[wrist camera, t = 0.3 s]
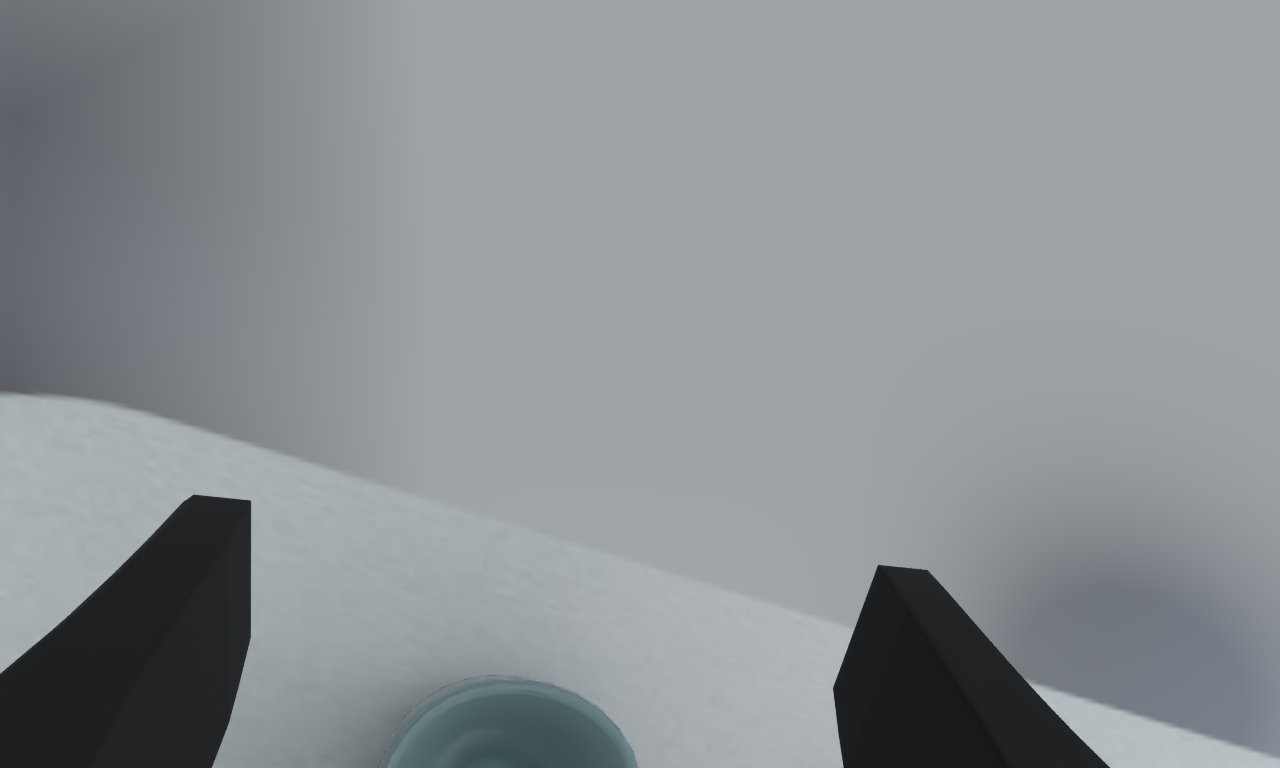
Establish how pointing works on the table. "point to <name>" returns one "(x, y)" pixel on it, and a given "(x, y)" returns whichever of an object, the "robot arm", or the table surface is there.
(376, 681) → the table surface
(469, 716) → the cup
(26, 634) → the table surface
